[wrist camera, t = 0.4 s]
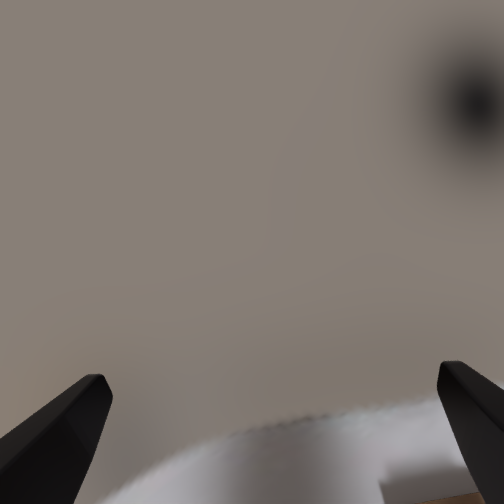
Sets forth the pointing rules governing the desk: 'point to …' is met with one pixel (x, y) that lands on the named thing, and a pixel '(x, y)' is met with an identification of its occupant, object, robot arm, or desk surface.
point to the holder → (459, 500)
